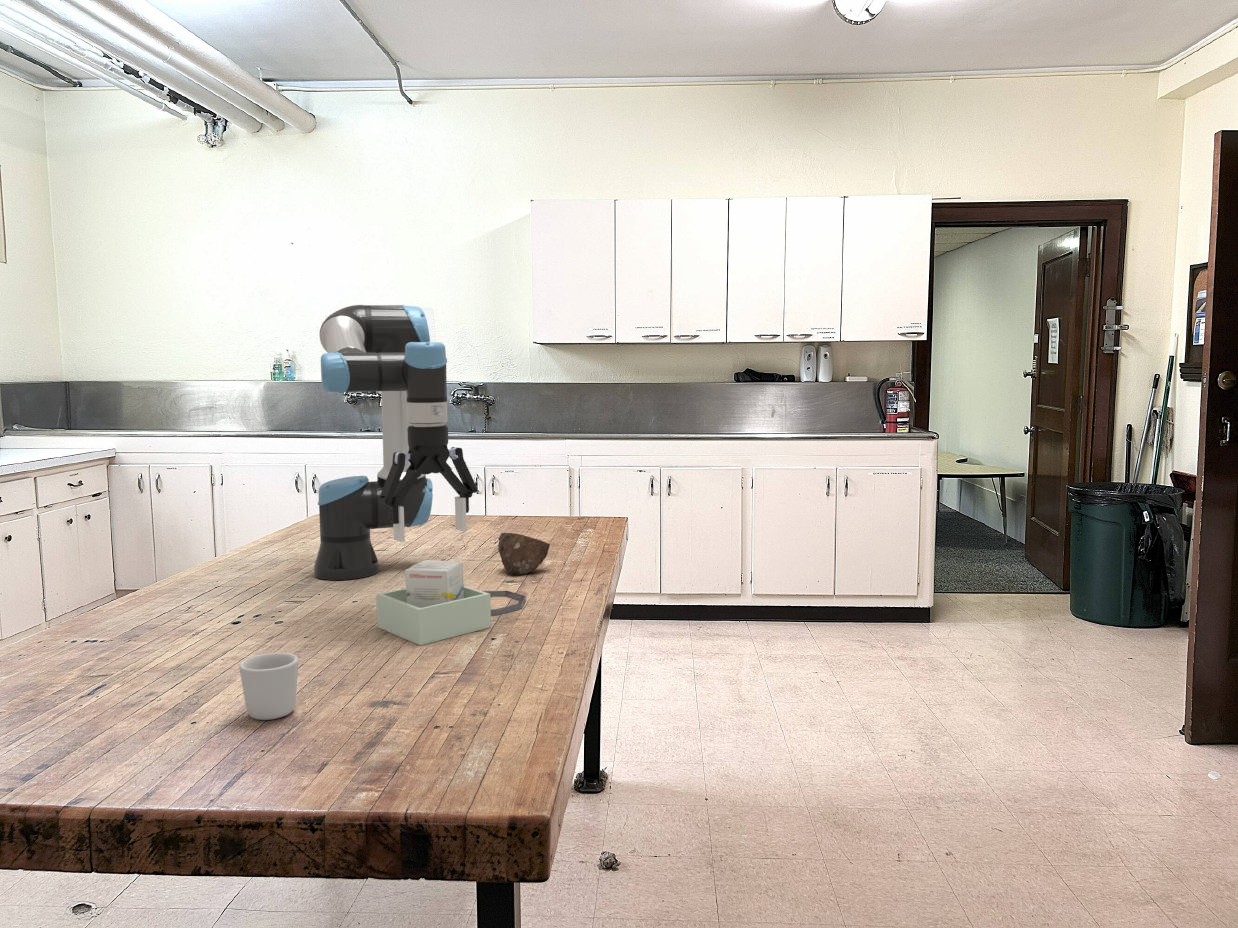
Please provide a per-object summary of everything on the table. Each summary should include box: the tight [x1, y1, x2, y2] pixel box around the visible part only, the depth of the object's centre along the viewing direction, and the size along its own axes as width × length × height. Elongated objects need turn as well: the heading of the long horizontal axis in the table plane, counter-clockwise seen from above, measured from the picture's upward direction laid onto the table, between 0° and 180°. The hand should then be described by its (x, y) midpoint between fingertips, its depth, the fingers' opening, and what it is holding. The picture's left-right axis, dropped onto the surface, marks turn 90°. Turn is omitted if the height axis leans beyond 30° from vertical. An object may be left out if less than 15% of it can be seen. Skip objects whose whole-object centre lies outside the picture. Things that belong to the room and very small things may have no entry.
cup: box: [239, 652, 299, 721], centre depth 130 cm, size 11×8×8 cm
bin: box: [375, 585, 492, 646], centre depth 170 cm, size 16×16×7 cm
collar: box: [482, 590, 526, 616], centre depth 186 cm, size 16×16×1 cm
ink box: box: [404, 559, 465, 608], centre depth 170 cm, size 9×8×12 cm
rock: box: [497, 532, 551, 576], centre depth 213 cm, size 12×10×10 cm
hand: (431, 535), depth 169 cm, fingers open, 13 cm apart
